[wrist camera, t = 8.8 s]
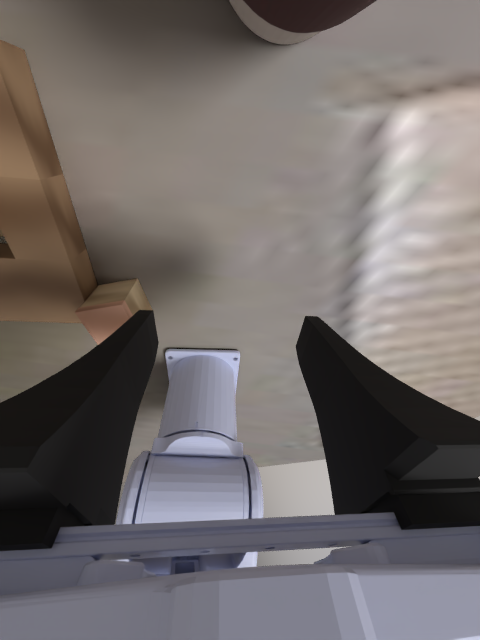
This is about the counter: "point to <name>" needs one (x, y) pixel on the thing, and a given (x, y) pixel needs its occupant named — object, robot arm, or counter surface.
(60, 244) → the hole board
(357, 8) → the coffee cup
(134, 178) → the counter surface
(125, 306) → the tan cubic piece
